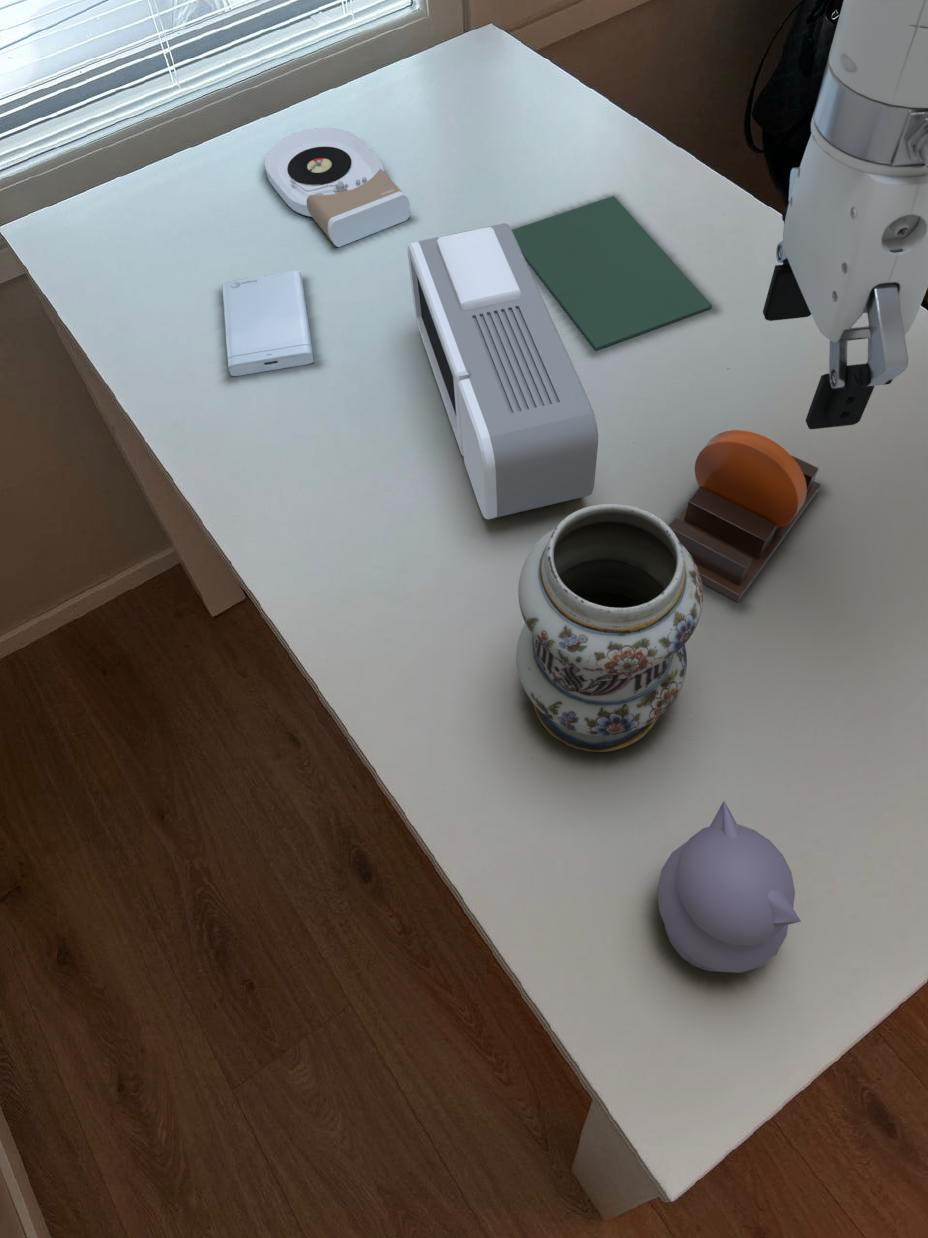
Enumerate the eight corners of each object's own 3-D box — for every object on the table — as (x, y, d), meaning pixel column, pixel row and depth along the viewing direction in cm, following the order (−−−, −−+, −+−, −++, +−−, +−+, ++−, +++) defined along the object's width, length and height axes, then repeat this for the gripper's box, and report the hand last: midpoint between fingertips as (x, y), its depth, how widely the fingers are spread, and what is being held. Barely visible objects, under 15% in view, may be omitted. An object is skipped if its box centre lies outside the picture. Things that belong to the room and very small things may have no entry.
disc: (695, 486, 83) (713, 411, 75) (791, 534, 79) (820, 462, 72) (686, 497, 82) (703, 423, 74) (783, 547, 79) (811, 474, 71)
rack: (734, 451, 86) (742, 423, 83) (818, 491, 83) (829, 464, 80) (651, 556, 80) (656, 530, 77) (737, 602, 77) (746, 578, 74)
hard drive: (221, 281, 99) (226, 364, 93) (299, 268, 100) (311, 350, 93) (225, 294, 101) (231, 377, 94) (303, 282, 101) (314, 363, 94)
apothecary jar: (664, 623, 77) (699, 475, 62) (686, 763, 70) (731, 636, 55) (513, 629, 77) (510, 484, 62) (520, 769, 71) (520, 646, 56)
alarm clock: (416, 328, 96) (403, 224, 86) (505, 308, 97) (504, 203, 87) (487, 539, 82) (482, 444, 72) (592, 514, 83) (601, 417, 73)
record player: (319, 227, 101) (246, 136, 110) (324, 252, 103) (252, 162, 113) (417, 188, 103) (337, 103, 113) (420, 214, 106) (341, 129, 116)
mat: (711, 308, 96) (712, 305, 95) (595, 350, 93) (596, 347, 93) (613, 198, 106) (613, 195, 105) (506, 234, 103) (506, 231, 103)
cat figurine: (626, 890, 66) (645, 829, 56) (724, 841, 67) (760, 773, 57) (694, 1010, 61) (728, 968, 51) (797, 955, 63) (850, 904, 53)
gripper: (1048, 204, 42) (913, 463, 57) (911, 5, 52) (825, 272, 66) (880, 222, 42) (787, 477, 57) (772, 20, 51) (716, 284, 66)
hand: (807, 367), depth 61 cm, fingers open, 9 cm apart
